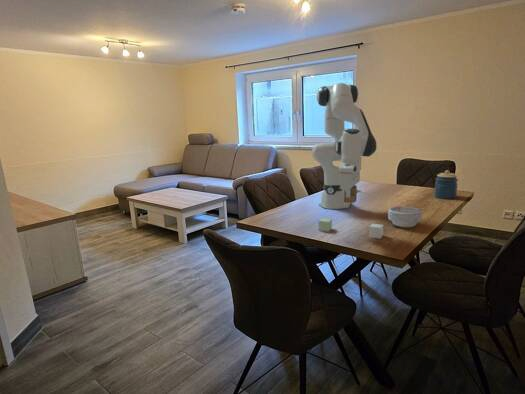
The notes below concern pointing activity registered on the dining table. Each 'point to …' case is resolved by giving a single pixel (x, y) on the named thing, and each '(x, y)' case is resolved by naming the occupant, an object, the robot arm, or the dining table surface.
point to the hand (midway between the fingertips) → (350, 195)
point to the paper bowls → (404, 216)
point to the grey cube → (376, 231)
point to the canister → (446, 185)
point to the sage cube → (325, 224)
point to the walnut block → (353, 195)
